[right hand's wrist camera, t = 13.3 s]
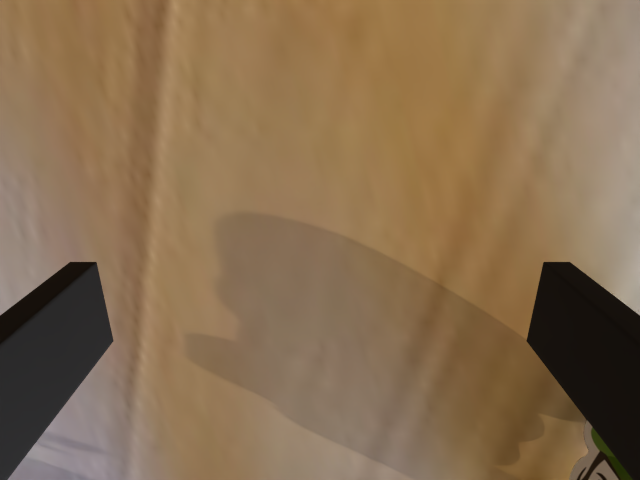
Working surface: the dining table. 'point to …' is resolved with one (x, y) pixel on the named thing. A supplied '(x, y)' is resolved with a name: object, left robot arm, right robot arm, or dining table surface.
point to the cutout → (597, 460)
